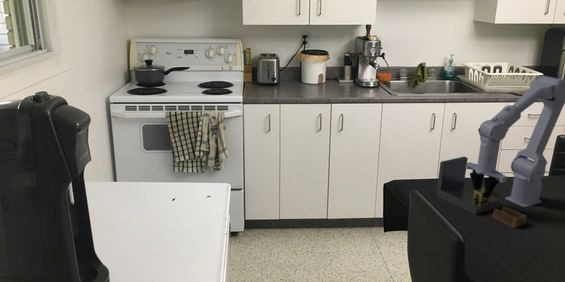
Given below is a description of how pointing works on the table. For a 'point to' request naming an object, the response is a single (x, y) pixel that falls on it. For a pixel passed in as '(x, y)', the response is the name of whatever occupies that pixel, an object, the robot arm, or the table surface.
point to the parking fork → (509, 217)
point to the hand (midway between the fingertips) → (481, 195)
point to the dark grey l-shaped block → (460, 187)
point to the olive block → (480, 194)
